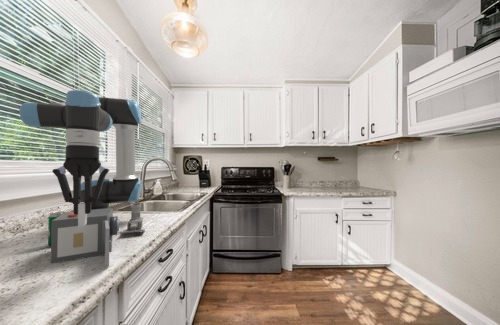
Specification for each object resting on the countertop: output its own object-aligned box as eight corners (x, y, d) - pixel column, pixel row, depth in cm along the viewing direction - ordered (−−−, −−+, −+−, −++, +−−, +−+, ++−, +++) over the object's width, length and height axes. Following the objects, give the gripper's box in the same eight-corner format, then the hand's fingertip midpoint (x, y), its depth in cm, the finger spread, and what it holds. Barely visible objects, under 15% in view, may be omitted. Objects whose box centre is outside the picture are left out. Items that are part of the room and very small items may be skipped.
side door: (102, 267, 57) (103, 229, 57) (102, 253, 66) (102, 220, 67) (111, 265, 58) (111, 228, 59) (109, 252, 68) (110, 219, 68)
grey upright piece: (146, 202, 99) (143, 208, 85) (146, 226, 99) (143, 236, 85) (126, 203, 96) (119, 210, 82) (126, 228, 96) (119, 239, 82)
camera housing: (66, 247, 73) (67, 209, 73) (119, 239, 81) (120, 205, 81) (50, 263, 61) (51, 218, 61) (115, 252, 68) (115, 212, 69)
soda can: (51, 243, 77) (52, 212, 77) (68, 241, 79) (69, 210, 79) (44, 248, 72) (45, 215, 73) (62, 245, 74) (63, 213, 75)
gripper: (47, 143, 52) (47, 232, 52) (108, 145, 58) (107, 225, 58) (58, 145, 59) (57, 224, 59) (111, 146, 65) (111, 218, 65)
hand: (82, 224), depth 59 cm, fingers closed
